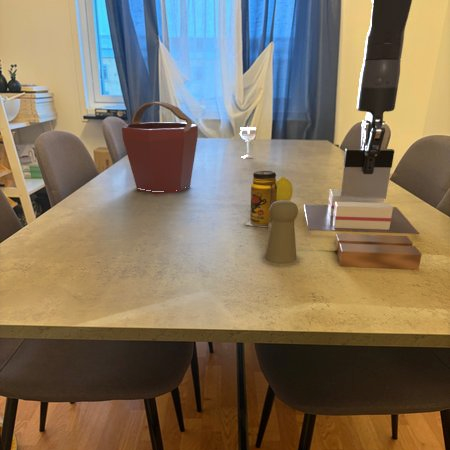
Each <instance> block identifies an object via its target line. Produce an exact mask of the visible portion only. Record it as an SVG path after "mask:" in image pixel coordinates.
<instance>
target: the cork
mask: <svg viewBox="0 0 450 450" xmlns="http://www.w3.org/2000/svg"><path fill="white" fill-rule="evenodd" d="M298 214H299V209H298V206H297V204H296V202H294V201H291V200H290V201H285V200H282V201H276V202H274V203H272V205H271V207H270V216H271V218H272V222H270V223H271V224H270V229H269V234H268V240H267V245H266V252H265V257H264V259H265V260H266V261H268V262H271V263H274V264H283V265H284V264H291V263H294V262H295V261H296V260H297V247H296V229H295V220H296V218H297V217H298Z"/></svg>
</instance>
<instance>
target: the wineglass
mask: <svg viewBox="0 0 450 450" xmlns="http://www.w3.org/2000/svg"><path fill="white" fill-rule="evenodd" d="M256 129H257V128H256V127H250V126H249V127H248V126H247V127H240V130H241V131H240V133H239V135H240V137H241V139H242V140H244V141H245V142H246V155H244V156H241V158H243V159H253V158H254V157H253V156H251V155H249V147H250V142H251V141H252V140H254V139H255V137H256V135H257V131H256Z"/></svg>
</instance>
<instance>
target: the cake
mask: <svg viewBox="0 0 450 450" xmlns="http://www.w3.org/2000/svg"><path fill="white" fill-rule="evenodd" d="M384 201H385V199H362V198H341V189H337V188H336V189H333V188H330V189H329V194H328V204H327V205H328V210H329V213H330V216H334V215H333V214H334V208H335V202H365V203H385V202H384Z"/></svg>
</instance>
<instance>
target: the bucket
mask: <svg viewBox="0 0 450 450" xmlns="http://www.w3.org/2000/svg"><path fill="white" fill-rule="evenodd" d="M153 105H157V106H159V107H162V108H164V109H167V110H169V111H170V112H171V113H172V114H173V115H174V116H175V117H176V118H177V119H179V120H181V122H179V121H175V122H174V121H172V122H171V121H165V122H164V121H149V122H141V120H142V117H143V116H144V113H145V112H146V111H147V110H148V109H149V108H150V107H152V106H153ZM182 121H185V122H182ZM198 127H199V126H198V124H195V123H194V124H193V121H192V119H191V118H190V117H189V116H188V115H187V114H186V113H185V112H183V111H182V110H181V109H180V107H178V106H176V105H173V104H170V103H169V102H164V101H150V102H148V101H147V102H144V103H143V104H141V105H140V106H139V107H138V108H137V109H136V110H135V111H134V114H133V116H132V119H131V123H126V124H124V125H122V127H121V132H122V133H121V134H122V141H123V144H124V148H125V151H126V155H127V158H128V162H129V165H130V169H131V172H132V176H133V179H134V183H135V186H136V191H137V192H140V193H147V194H153V195H162V194H174V193H176V194H177V193H181V192H184V191H185V190H188V189H189V188H191V183H192V176H193V170H194V164H195V156H196V150H197V144H198V137H199V128H198ZM185 187H186V188H185ZM137 188H141V189H145V190H140V189H137ZM146 190H151V191H146ZM176 190H177V191H176ZM152 191H164V192H152Z"/></svg>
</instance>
